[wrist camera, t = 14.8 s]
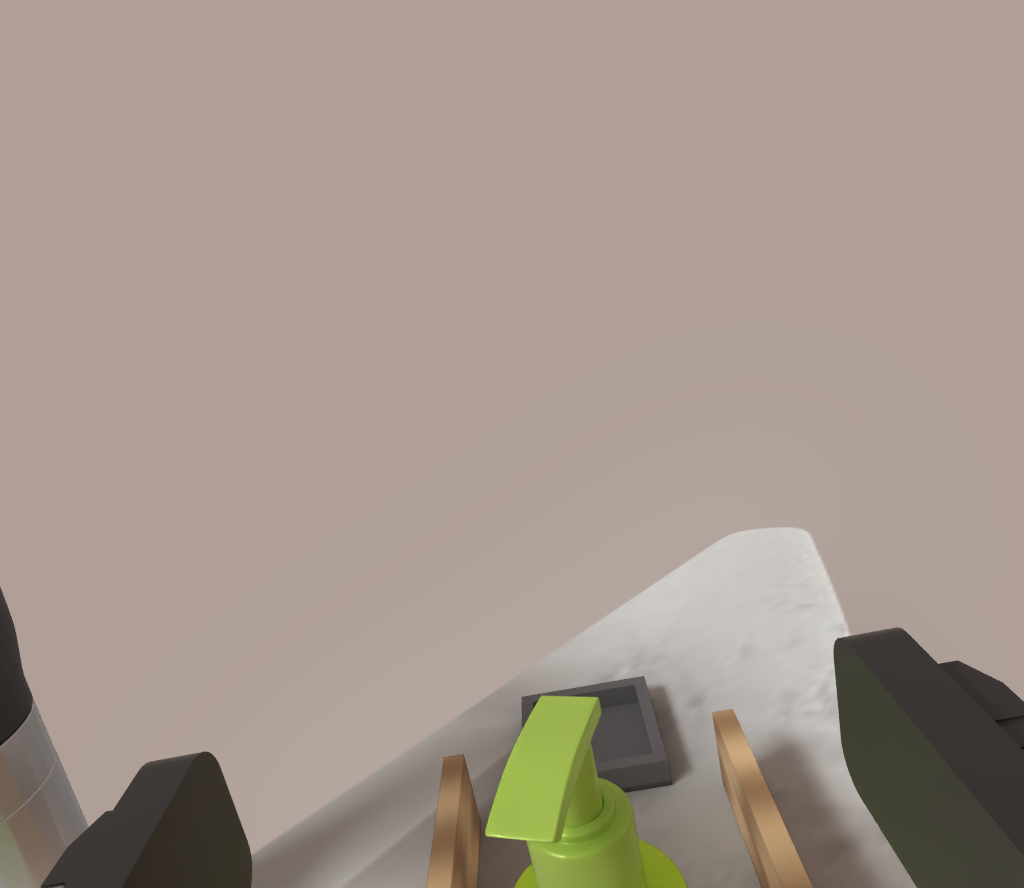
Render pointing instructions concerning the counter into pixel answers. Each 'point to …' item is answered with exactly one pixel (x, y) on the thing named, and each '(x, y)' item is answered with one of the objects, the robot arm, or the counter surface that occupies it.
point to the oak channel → (742, 781)
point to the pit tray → (621, 733)
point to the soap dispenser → (572, 808)
